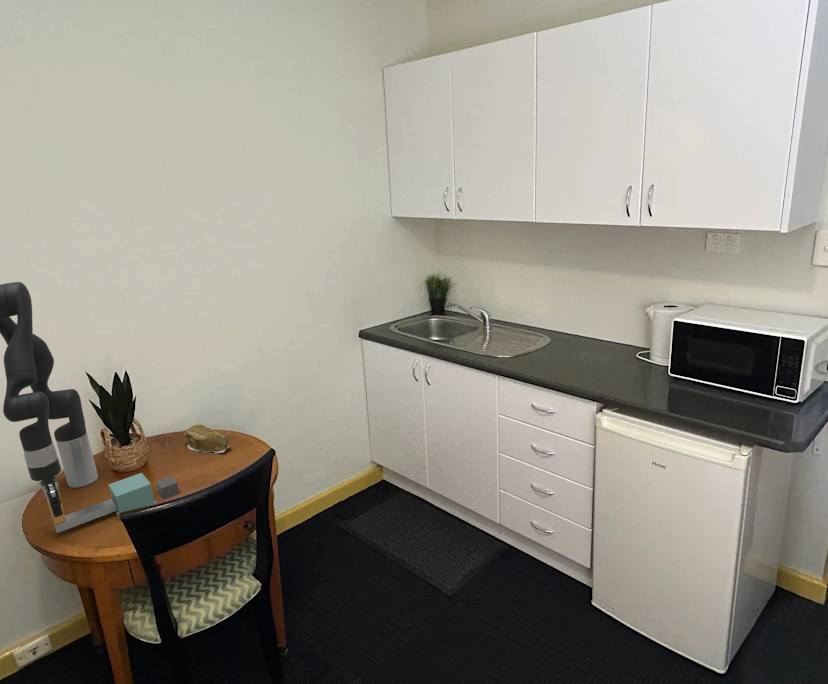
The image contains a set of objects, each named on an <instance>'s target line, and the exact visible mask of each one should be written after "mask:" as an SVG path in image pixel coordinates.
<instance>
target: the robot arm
mask: <svg viewBox="0 0 828 684" xmlns="http://www.w3.org/2000/svg"><path fill="white" fill-rule="evenodd" d="M32 304H33V303H32V297H31V294H30V292H29V289H28V288H27V286H26V285H25V283H23V282H20V281H15V282H8V283H1V284H0V335H1V337H2V338H3V340H4V342H5V344H6V345H7V347H6V349H5V351H4V355H3V366H4V372H5V377H6V390H5V396H4V401H3V405H2V406H3V407H2V412H3V415H4V417H5V419H6V420H8V421H10V422H13V423H17V422H22V421H26V420H32V419H37V420H36V421H35V422H34V423H31V424H29V425H26V426H24V427H23V428H22V429H20V431H19V434H18V435H19V440H20V443H21V446H22V450H23V454H24V455H23V456H24V461H25V464H26V468H27V469H28V474H29V478H30V479H31V480H32V481H33V482H34V481H35V482H39V485H40V487H41V490H42V492H43V494H44V497H45V499H46V500H49V502H50V506H51V508H52V511H53V515H54V517H58V516H61V515H62V514H63V512H62V509H61V505H60V504H61V503H62V500H61V497H59V496H61V493H60V490H59V483H58V482H59V481H58V479H57V477H56V476H58V475H59V474H60V473H61V471H62V468H63V472H64V476H65V478H66V479H65V480H66V482H67V486H68V488H71V489H72V488H75V489H76V488H82V487H87V486H88V485H90V484H93V483H94V482H95V481H97V480H98V478H99V475H98V470H97V466H96V463H95V460H94V459H95V458H94V455H93V452H92V447H91V443H90V440H89V436H88V432H87V429H86V420H85V416H84V412H83V405H82V400H81V397H80V394H79V393H78V391H77V390H76V389H74V388H70V389H59V390H55V391H53V390H51V389H50V388H49V386H48V383H49V379H50V376H51V375H52V371H53V369H54V366H55V365H54V364H55V359H54V357H53V354H52V352H51V350H50V348H49V347H48V345H47V343H46V342H45V341H44V340H43V339H42V338H41V337H39V336H38V335H36V334H35V333H33V305H32ZM14 316H17V317H16V318H17V320H16V321H17V322H15V321H14V320H13V319H12V318H11V317H14ZM28 387H30V389H31V392H29V393H27V392H26V393H23V394H20V393H21V391H22V390H24V389H26V388H28ZM60 419H61V420H62V419H68V422H66V423H64V424H63V425H61V426H59V427H58V428H56V429H55V430H54V433H53V436H54V438H55V442H56V446H55V445H54V441H53V438H52V436H51V431H50V425H49V420H50V421H51V420H53V421H54V420H60ZM56 447H57V449H56ZM57 450H58V453H59V456H58V453H57ZM59 457H60V460H61V464H62V467H61V464H60V460H59ZM60 500H61V501H60Z"/></svg>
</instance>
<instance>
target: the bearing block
mask: <svg viewBox="0 0 828 684" xmlns="http://www.w3.org/2000/svg"><path fill="white" fill-rule="evenodd" d="M108 489H109V493H110V496H111V498H114V499H115V500H116V503H117V507H118V510H117V511H114V512H115V514H116V516H118V515H119V513H121V512H124V511H128V510H132V509H136V508H139V507H145V506H149V505H152V504H158V501H157V500H156V499H155V496H154V492H153V488H152V484H151V482H150V481H149V479H147V477H146V476H145V474H143V472H140V473H137V474H135V475H132V476H128V477H126V478H123V479H121V480H117V481H114V482H111V483H108Z"/></svg>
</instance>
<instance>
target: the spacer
mask: <svg viewBox="0 0 828 684" xmlns="http://www.w3.org/2000/svg"><path fill="white" fill-rule="evenodd" d="M155 484H156V488H157V493H158V494H159V495H160V497H161V498H162V499H163V500H165V499H167V498H170V497H172V496H176V495H178V494H180V489H179V484H178V482H177V481H176V478H174V477H173V476H172V475H170V476H167V477H164V478H161V479H159V480H156V481H155Z"/></svg>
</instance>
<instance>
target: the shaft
mask: <svg viewBox="0 0 828 684" xmlns="http://www.w3.org/2000/svg"><path fill="white" fill-rule="evenodd" d="M60 496H61V495H60ZM60 496H59V497H60ZM60 498H61V497H60ZM46 500H47V499H46ZM60 501H61V504H60V505H61V509H62V512H63V514H62V515H61V516H58V517H54V515H53V511H52V508H51V506H50V502H49V500H47V504H48V508H49V511H50V515H51V518H52V523H53V526H54V529H55V532H56V534H58V533H59V534H60V533H62V532H65V531H67V530H70V529H72V528H74V527H77V526H80V525H82V524H86V523H87V522H91V521H93V520H96V519H98V518H101V517H103V516H107V515H109V514H112V513H114V512H115V511H117V510H118V507H117V503H116V500H115V499H114V498H112V497H111V498H109V499H107V500H104V501H101V502H98V503H94V504H93V505H90V506H87V507H84V508H82V509H79V510H76V511H74V512H71V513H69V514H65V511H64V507H63V504H62V499H60Z"/></svg>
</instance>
